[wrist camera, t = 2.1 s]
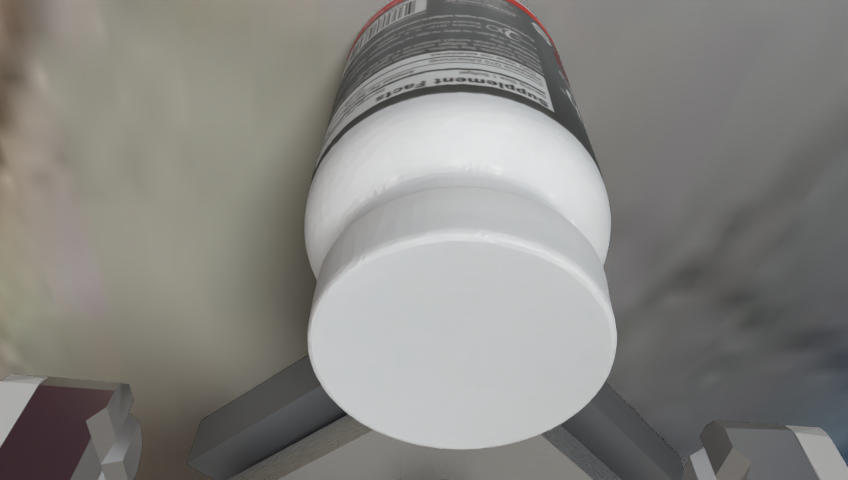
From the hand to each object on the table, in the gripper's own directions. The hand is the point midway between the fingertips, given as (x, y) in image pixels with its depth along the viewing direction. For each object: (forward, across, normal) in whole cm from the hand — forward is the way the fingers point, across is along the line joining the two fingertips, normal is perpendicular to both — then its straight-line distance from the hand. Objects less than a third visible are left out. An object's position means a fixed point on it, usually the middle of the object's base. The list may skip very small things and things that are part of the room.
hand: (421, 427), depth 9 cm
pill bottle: (+11, -1, -1) cm, 11 cm away
